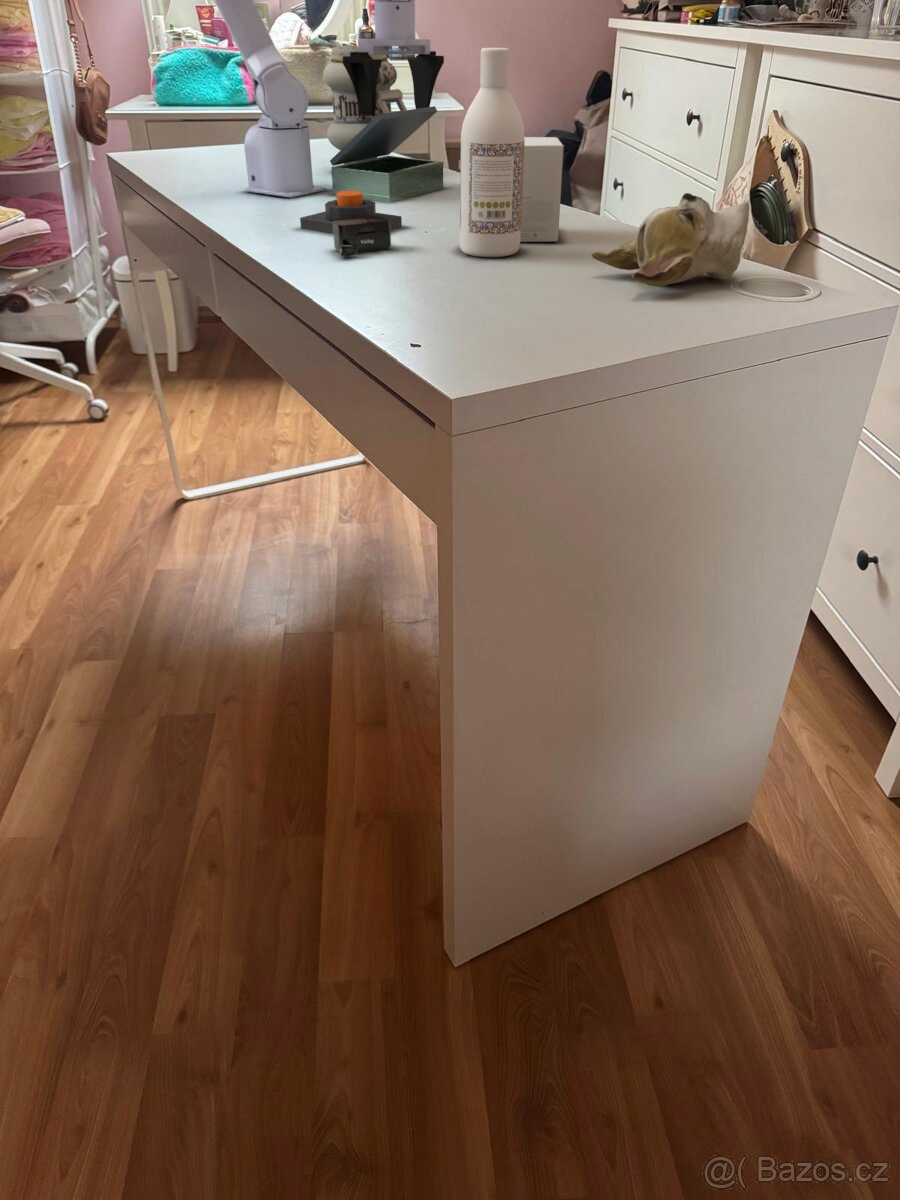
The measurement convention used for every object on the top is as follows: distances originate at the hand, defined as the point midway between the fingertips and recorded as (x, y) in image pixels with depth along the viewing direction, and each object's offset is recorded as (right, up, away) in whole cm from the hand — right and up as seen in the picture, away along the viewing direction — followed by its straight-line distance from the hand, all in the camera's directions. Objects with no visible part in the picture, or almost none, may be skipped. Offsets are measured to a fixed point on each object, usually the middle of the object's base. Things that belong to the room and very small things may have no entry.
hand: (396, 112), depth 133 cm
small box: (+18, -28, -23) cm, 40 cm away
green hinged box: (-1, -11, +2) cm, 11 cm away
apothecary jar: (-6, 0, +18) cm, 19 cm away
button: (-4, -23, -21) cm, 32 cm away
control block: (-4, -25, -19) cm, 32 cm away
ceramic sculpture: (+31, -40, -40) cm, 65 cm away
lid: (-2, -5, -2) cm, 5 cm away
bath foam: (+13, -32, -29) cm, 46 cm away
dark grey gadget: (-2, -33, -30) cm, 45 cm away
